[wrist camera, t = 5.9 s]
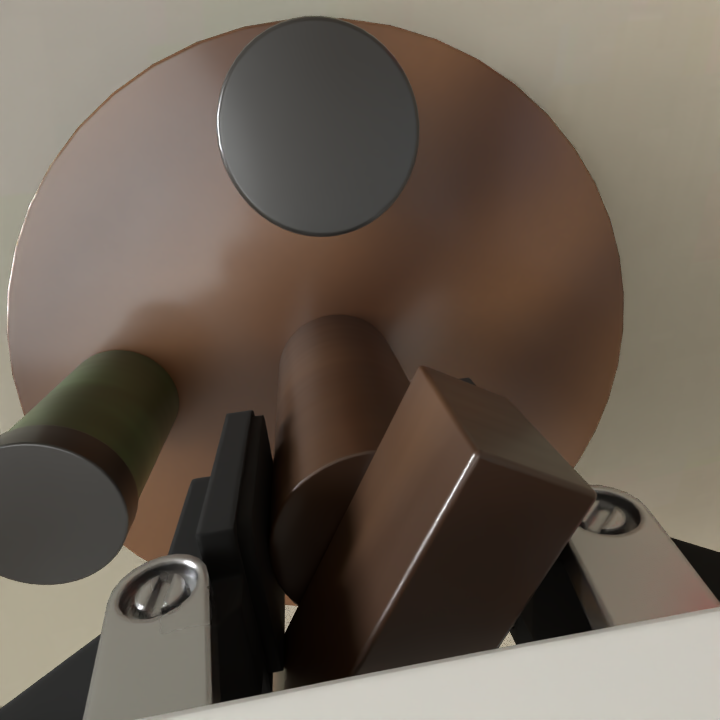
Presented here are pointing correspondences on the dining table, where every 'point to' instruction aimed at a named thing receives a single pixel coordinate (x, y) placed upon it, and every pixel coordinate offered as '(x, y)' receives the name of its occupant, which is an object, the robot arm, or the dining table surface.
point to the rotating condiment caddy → (318, 333)
